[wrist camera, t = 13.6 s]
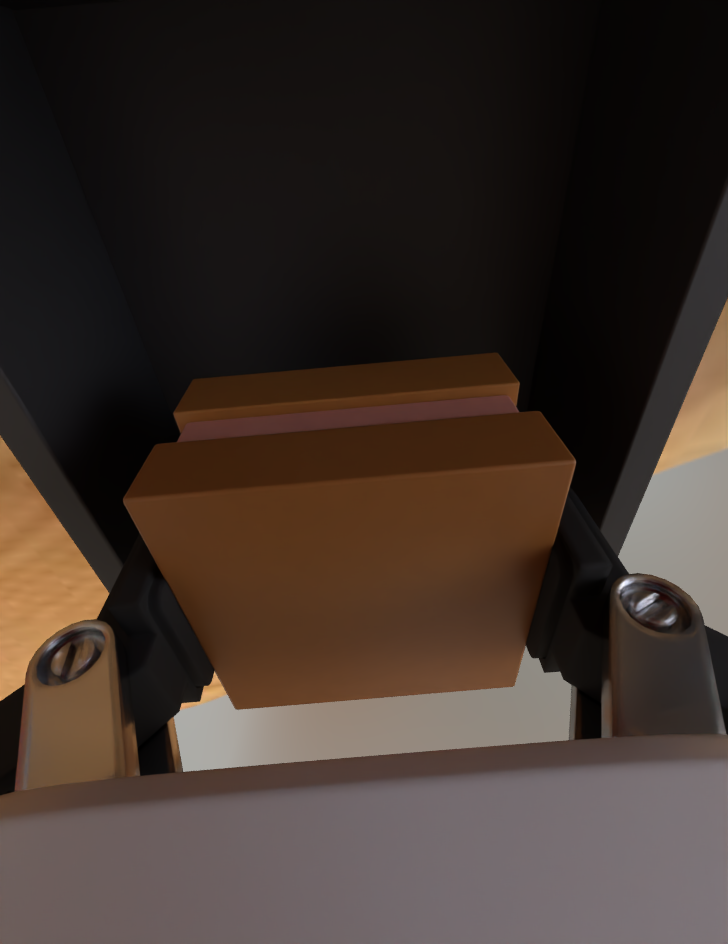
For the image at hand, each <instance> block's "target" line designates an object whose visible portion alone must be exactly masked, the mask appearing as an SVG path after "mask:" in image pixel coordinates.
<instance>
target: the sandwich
mask: <svg viewBox="0 0 728 944" xmlns="http://www.w3.org/2000/svg"><path fill="white" fill-rule="evenodd" d="M519 385H520V383H519V381H518V380H517V379H516V377H515V376H514V374H513V373H512V372H511V370H510V369H509V368H508V366H507V365H506V364H505V362H504V361H503V359H502V358H501V357H500V355H499V354H498V353H485V354H474V355H463V356H451V357H440V358H428V359H417V360H406V361H394V362H383V363H371V364H360V365H349V366H337V367H326V368H315V369H303V370H292V371H280V372H269V373H258V374H246V375H235V376H223V377H212V378H201V379H194V380H192V382H191V384H190V386H189V387H188V389H187V391H186V392H185V394H184V396H183V397H182V399H181V401H180V402H179V404H178V406H177V407H176V409H175V411H174V413H173V414H174V417H175V420H176V422H177V425H178V428H179V430H180V433H181V435H180V437H179V439H178V441H177V442H172V443H161V444H156V445H155V446H154V447H153V449H152V451H151V452H150V454H149V456H148V457H147V459H146V461H145V462H144V464H143V466H142V468H141V469H140V471H139V473H138V474H137V476H136V478H135V479H134V481H133V483H132V484H131V486H130V488H129V490H128V491H127V493H126V495H125V496H124V498H123V503H124V505H125V507H126V509H127V510H128V512H129V514H130V516H131V518H132V520H133V521H134V523H135V525H136V527H137V529H138V531H139V533H140V534H141V536H142V538H143V540H144V542H145V544H146V545H147V547H148V549H149V551H150V553H151V555H152V556H153V558H154V560H155V562H156V564H157V566H158V568H159V569H160V571H161V573H162V575H163V577H164V579H165V580H166V582H167V583H168V585H169V587H170V589H171V591H172V593H173V594H174V596H175V598H176V600H177V602H178V604H179V605H180V607H181V609H182V611H183V613H184V615H185V617H186V618H187V620H188V622H189V624H190V626H191V628H192V629H193V631H194V633H195V635H196V637H197V639H198V641H199V642H200V644H201V646H202V648H203V650H204V652H205V653H206V655H207V657H208V659H209V661H210V663H211V665H212V666H213V668H214V671H215V673H216V674H217V676H218V678H219V680H220V682H221V684H222V685H223V687H224V689H225V691H226V693H227V695H228V696H229V698H230V700H231V702H232V704H233V706H234V708H235V709H251V708H263V707H274V706H287V705H299V704H311V703H323V702H335V701H345V700H346V701H347V700H359V699H370V698H383V697H393V696H394V697H395V696H407V695H418V694H430V693H442V692H454V691H466V690H478V689H489V688H490V689H491V688H503V687H513V686H514V685H515V682H516V678H517V675H518V671H519V667H520V664H521V660H522V657H523V653H524V650H525V646H526V641H527V637H528V634H529V630H530V627H531V623H532V619H533V616H534V612H535V608H536V605H537V601H538V598H539V594H540V590H541V587H542V583H543V580H544V576H545V572H546V569H547V565H548V561H549V558H550V554H551V551H552V547H553V545H554V541H555V538H556V534H557V531H558V527H559V523H560V520H561V516H562V513H563V509H564V505H565V502H566V498H567V495H568V491H569V487H570V484H571V480H572V477H573V473H574V469H575V466H576V460H575V458H574V457H573V455H572V454H571V453H570V451H569V450H568V449H567V447H566V446H565V444H564V443H563V442H562V440H561V439H560V438H559V436H558V435H557V434H556V432H555V431H554V430H553V428H552V427H551V425H550V424H549V423H548V421H547V420H546V419H545V417H544V416H543V415H542V413H541V412H540V411H529V412H519V411H518V409H517V408H516V404H517V398H518V392H519Z"/></svg>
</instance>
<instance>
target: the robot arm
mask: <svg viewBox="0 0 728 944" xmlns="http://www.w3.org/2000/svg"><path fill="white" fill-rule="evenodd" d="M526 646H527V649H528V651H529V654H530V655H531V657H532V658H539V660H540V663H541V665H542V668H543V671H544V672H545V673H546V672H559V671H560V672H561V674H562V677H563V679H564V680H565V681H567V682H568V683H570V684H571V685H572V689H571V708H570V727H569V740H568V741H555V742H542V743H530V744H516V745H503V746H490V747H477V748H465V749H452V750H439V751H426V752H414V753H402V754H390V755H378V756H366V757H354V758H341V759H330V760H317V761H305V762H294V763H282V764H270V765H258V766H248V767H236V768H225V769H213V770H201V771H189V772H183V768H182V762H181V757H180V751H179V745H178V740H177V734H176V728H175V723H174V718H173V717H174V716H175V715H176V714H177V713H178V712H179V711H180V707H181V703H187V702H198V701H200V700H201V695H202V691H203V687H204V686H208V685H209V684H210V683H211V681H212V678H213V674H214V668H213V666H212V665H211V663H210V661H209V659H208V657H207V655H206V653H205V652H204V650H203V648H202V646H201V644H200V642H199V641H198V639H197V637H196V635H195V633H194V631H193V629H192V628H191V626H190V624H189V622H188V620H187V618H186V617H185V615H184V613H183V611H182V609H181V607H180V605H179V604H178V602H177V600H176V598H175V596H174V594H173V593H172V591H171V589H170V587H169V585H168V583H167V582H166V580H165V579H164V577H163V575H162V573H161V571H160V569H159V568H158V566H157V564H156V562H155V560H154V558H153V556H152V555H151V553H150V551H149V549H148V547H147V545H146V544H145V542H144V540H143V538H142V536H141V534H140V533H139V535H138V537H137V539H136V541H135V543H134V545H133V547H132V549H131V551H130V554H129V556H128V558H127V560H126V562H125V564H124V566H123V568H122V570H121V572H120V574H119V576H118V578H117V580H116V582H115V584H114V586H113V588H112V590H111V592H110V594H109V596H108V598H107V600H106V602H105V604H104V606H103V608H102V610H101V612H100V614H99V616H98V618H97V620H96V619H95V620H83V621H80V622H77V623H73V624H71V625H69V626H67V627H65V628H63V629H61V630H59V631H58V632H56V633H55V634H54V635H52V636H51V637H50V638H49V639H47V640H46V641H45V642H44V643H43V644H42V645H41V646H40V648H39V649H38V650H37V651H36V652H35V654H34V656H33V657H32V659H31V661H30V662H29V665H28V668H27V672H26V678H25V685H23V686H22V687H20V688H19V689H17V690H16V691H15V692H13V693H12V694H10V695H9V696H7V697H6V698H4V699H3V700H2V701H0V944H728V636H726V635H723V634H721V633H719V632H717V631H715V630H713V629H711V628H709V627H707V626H705V625H704V620H703V617H702V614H701V612H700V610H699V607H698V605H697V604H696V603H695V602H694V600H693V599H692V598H691V596H690V595H688V594H687V593H686V592H684V591H683V590H682V589H681V588H679V587H678V586H676V585H675V584H673V583H671V582H669V581H667V580H665V579H662V578H659V577H656V576H653V575H648V574H640V573H636V574H629V573H628V572H627V570H626V569H625V567H624V566H623V564H622V563H621V561H620V560H619V558H618V557H617V555H616V554H615V552H614V551H613V549H612V548H611V546H610V545H609V543H608V542H607V540H606V539H605V537H604V536H603V534H602V533H601V531H600V530H599V528H598V527H597V525H596V523H595V522H594V520H593V519H592V517H591V516H590V514H589V513H588V511H587V510H586V508H585V507H584V505H583V504H582V502H581V501H580V499H579V498H578V496H577V495H576V493H575V492H574V491H573V490H572V489H571V488H569V491H568V495H567V498H566V502H565V505H564V509H563V513H562V516H561V520H560V523H559V527H558V531H557V534H556V538H555V541H554V545H553V547H552V551H551V554H550V558H549V561H548V565H547V569H546V572H545V576H544V580H543V583H542V587H541V590H540V594H539V598H538V601H537V605H536V608H535V612H534V616H533V619H532V623H531V627H530V630H529V634H528V637H527V641H526Z"/></svg>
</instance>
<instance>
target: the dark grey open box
mask: <svg viewBox="0 0 728 944" xmlns="http://www.w3.org/2000/svg"><path fill="white" fill-rule="evenodd" d="M727 298H728V0H0V436H1V437H2V438H3V440H4V441H5V443H6V444H7V446H8V447H9V449H10V450H11V451H12V453H13V454H14V456H15V457H16V459H17V460H18V462H19V463H20V464H21V466H22V467H23V469H24V470H25V472H26V473H27V475H28V476H29V477H30V479H31V480H32V482H33V483H34V485H35V486H36V488H37V489H38V491H39V492H40V493H41V495H42V496H43V498H44V499H45V501H46V502H47V504H48V505H49V506H50V508H51V509H52V511H53V512H54V514H55V515H56V517H57V518H58V519H59V521H60V522H61V524H62V525H63V527H64V528H65V530H66V531H67V532H68V534H69V535H70V537H71V538H72V540H73V541H74V543H75V544H76V545H77V547H78V548H79V550H80V551H81V553H82V554H83V556H84V557H85V558H86V560H87V561H88V563H89V564H90V566H91V567H92V569H93V570H94V571H95V573H96V574H97V576H98V577H99V579H100V580H101V582H102V583H103V585H104V586H105V587H106V589H107V590H108V592H109V593H110V592H111V590H112V588H113V586H114V584H115V582H116V580H117V578H118V576H119V574H120V572H121V570H122V568H123V566H124V564H125V562H126V560H127V558H128V556H129V554H130V551H131V549H132V547H133V545H134V543H135V541H136V539H137V537H138V535H139V531H138V529H137V527H136V525H135V523H134V521H133V520H132V518H131V516H130V514H129V512H128V510H127V509H126V507H125V505H124V503H123V498H124V496H125V495H126V493H127V491H128V490H129V488H130V486H131V484H132V483H133V481H134V479H135V478H136V476H137V474H138V473H139V471H140V469H141V468H142V466H143V464H144V462H145V461H146V459H147V457H148V456H149V454H150V452H151V451H152V449H153V447H154V446H155V445H156V444H161V443H172V442H177V441H178V439H179V437H180V435H181V433H180V430H179V428H178V425H177V422H176V420H175V417H174V414H173V413H174V411H175V409H176V407H177V406H178V404H179V402H180V401H181V399H182V397H183V396H184V394H185V392H186V391H187V389H188V387H189V386H190V384H191V382H192V380H194V379H201V378H212V377H223V376H235V375H246V374H258V373H269V372H280V371H292V370H303V369H315V368H326V367H337V366H349V365H360V364H371V363H383V362H394V361H406V360H417V359H428V358H440V357H451V356H463V355H474V354H485V353H498V354H499V355H500V357H501V358H502V359H503V361H504V362H505V364H506V365H507V366H508V368H509V369H510V370H511V372H512V373H513V374H514V376H515V377H516V379H517V380H518V381H519V383H520V385H519V392H518V398H517V404H516V408H517V409H518V411H519V412H529V411H540V412H541V413H542V415H543V416H544V417H545V419H546V420H547V421H548V423H549V424H550V425H551V427H552V428H553V430H554V431H555V432H556V434H557V435H558V436H559V438H560V439H561V440H562V442H563V443H564V444H565V446H566V447H567V449H568V450H569V451H570V453H571V454H572V455H573V457H574V458H575V460H576V466H575V469H574V473H573V477H572V480H571V484H570V487H569V488H571V489H572V490H573V491H574V492H575V493H576V495H577V496H578V498H579V499H580V501H581V502H582V504H583V505H584V507H585V508H586V510H587V511H588V513H589V514H590V516H591V517H592V519H593V520H594V522H595V523H596V525H597V527H598V528H599V530H600V531H601V533H602V534H603V536H604V537H605V539H606V540H607V542H608V543H609V545H610V546H611V548H612V549H613V551H614V552H615V554H616V555H617V557H618V555H619V553H620V550H621V548H622V546H623V543H624V541H625V539H626V536H627V534H628V531H629V529H630V527H631V524H632V522H633V519H634V517H635V515H636V513H637V510H638V508H639V505H640V503H641V501H642V498H643V496H644V493H645V491H646V489H647V487H648V484H649V482H650V479H651V477H652V475H653V472H654V470H655V468H656V465H657V463H658V461H659V458H660V456H661V453H662V451H663V449H664V446H665V444H666V442H667V439H668V437H669V435H670V432H671V430H672V428H673V425H674V423H675V420H676V418H677V416H678V413H679V411H680V409H681V406H682V404H683V402H684V399H685V397H686V394H687V392H688V390H689V387H690V385H691V383H692V380H693V378H694V376H695V373H696V371H697V368H698V366H699V364H700V361H701V359H702V357H703V354H704V352H705V350H706V347H707V345H708V342H709V340H710V338H711V335H712V333H713V331H714V328H715V326H716V324H717V321H718V319H719V317H720V314H721V312H722V309H723V307H724V305H725V302H726V300H727Z"/></svg>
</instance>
